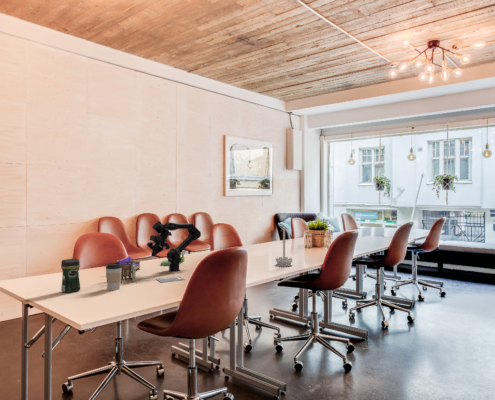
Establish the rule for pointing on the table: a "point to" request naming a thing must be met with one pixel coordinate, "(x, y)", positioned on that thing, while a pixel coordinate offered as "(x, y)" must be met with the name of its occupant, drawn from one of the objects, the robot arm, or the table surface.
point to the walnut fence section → (125, 268)
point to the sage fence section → (133, 271)
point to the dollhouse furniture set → (169, 262)
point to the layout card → (170, 279)
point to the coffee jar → (70, 275)
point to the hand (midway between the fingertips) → (152, 256)
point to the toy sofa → (128, 260)
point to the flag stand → (284, 260)
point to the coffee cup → (113, 276)
